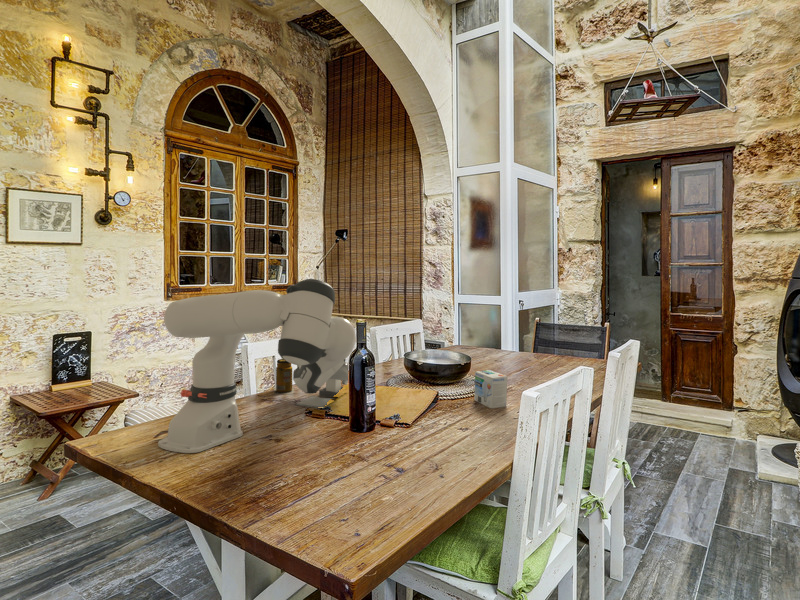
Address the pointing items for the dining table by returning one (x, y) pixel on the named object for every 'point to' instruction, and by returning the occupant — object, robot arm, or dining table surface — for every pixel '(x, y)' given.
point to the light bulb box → (490, 388)
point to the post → (333, 385)
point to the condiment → (283, 378)
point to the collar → (327, 392)
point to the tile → (314, 402)
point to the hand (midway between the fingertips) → (334, 381)
